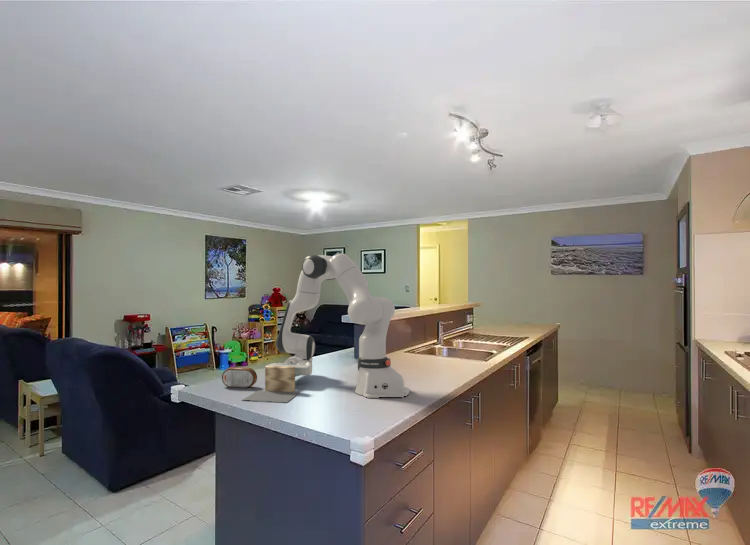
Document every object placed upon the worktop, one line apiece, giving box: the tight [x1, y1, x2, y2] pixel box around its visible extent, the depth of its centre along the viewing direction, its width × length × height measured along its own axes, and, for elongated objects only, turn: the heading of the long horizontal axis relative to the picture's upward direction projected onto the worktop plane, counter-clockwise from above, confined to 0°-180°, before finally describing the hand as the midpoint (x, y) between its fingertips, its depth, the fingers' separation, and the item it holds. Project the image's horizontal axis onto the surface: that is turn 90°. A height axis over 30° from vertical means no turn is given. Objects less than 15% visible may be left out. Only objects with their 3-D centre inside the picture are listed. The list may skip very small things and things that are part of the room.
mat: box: [242, 389, 300, 404], centre depth 146 cm, size 18×13×1 cm
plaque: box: [264, 366, 296, 392], centre depth 155 cm, size 12×3×10 cm, turn 81°
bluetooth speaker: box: [221, 366, 258, 388], centre depth 160 cm, size 15×3×8 cm, turn 84°
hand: (281, 373), depth 156 cm, fingers closed
